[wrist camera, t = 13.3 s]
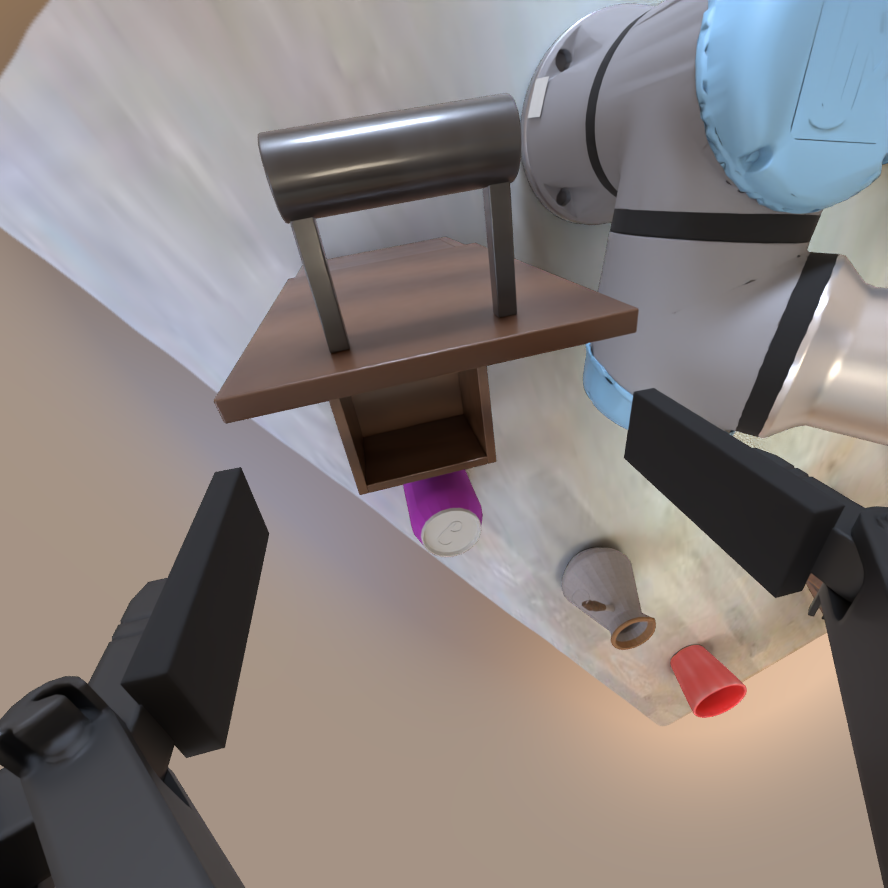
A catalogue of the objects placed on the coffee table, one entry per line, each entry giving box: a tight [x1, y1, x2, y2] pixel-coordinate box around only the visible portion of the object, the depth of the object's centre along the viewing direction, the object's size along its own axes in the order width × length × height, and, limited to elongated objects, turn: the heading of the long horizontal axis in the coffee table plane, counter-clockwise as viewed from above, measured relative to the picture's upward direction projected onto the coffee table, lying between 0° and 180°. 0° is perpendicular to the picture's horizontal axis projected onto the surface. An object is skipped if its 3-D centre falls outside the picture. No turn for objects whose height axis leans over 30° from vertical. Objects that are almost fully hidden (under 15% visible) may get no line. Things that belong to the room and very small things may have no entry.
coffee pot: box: [562, 548, 656, 650], centre depth 60 cm, size 21×12×15 cm, turn 43°
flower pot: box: [670, 645, 747, 718], centre depth 86 cm, size 11×11×10 cm
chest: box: [295, 237, 496, 495], centre depth 40 cm, size 19×14×10 cm
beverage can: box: [403, 469, 483, 557], centre depth 48 cm, size 8×8×12 cm
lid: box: [214, 93, 639, 423], centre depth 20 cm, size 20×14×7 cm
